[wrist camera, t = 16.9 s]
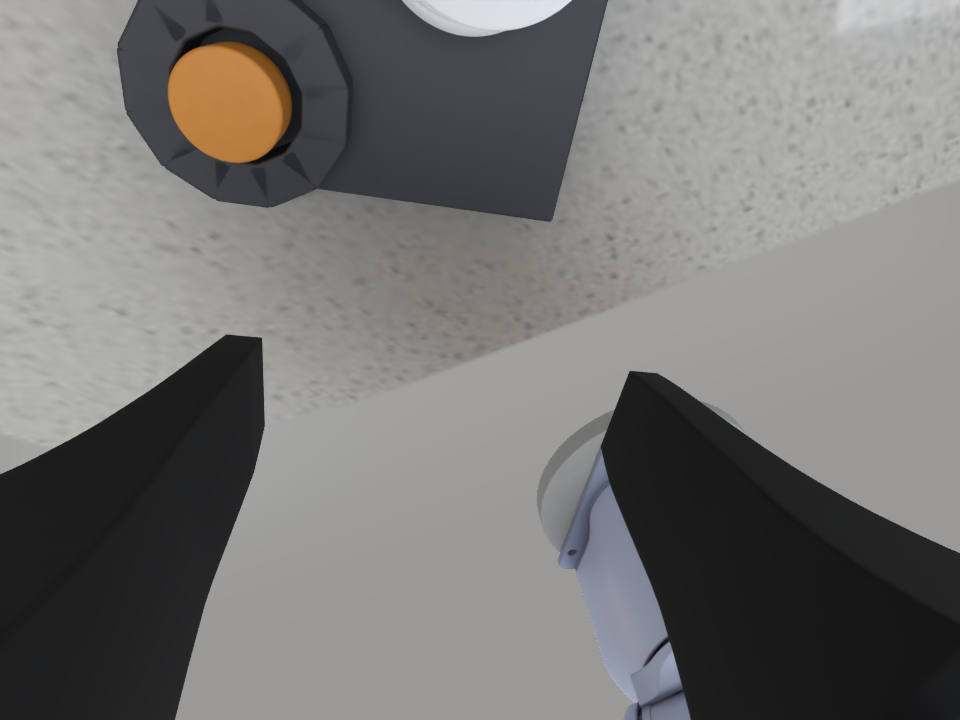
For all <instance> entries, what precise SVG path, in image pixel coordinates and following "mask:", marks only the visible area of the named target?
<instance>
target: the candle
mask: <svg viewBox="0 0 960 720" xmlns="http://www.w3.org/2000/svg"><path fill="white" fill-rule="evenodd" d="M402 1H403V2H404V3H405V5H406V6H407V7H408V8H409V9H410V10H411V11H413V12H414V13H415V14H416V15H417V16H419V17H420V18H421V19H423V20H424V21H426V22H427V23H429V24H430V25H432V26H434V27H436V28H438V29H440V30H443V31H445V32H448V33H452V34H456V35H461V36H469V37H480V36H488V35H493V34H497V33H501V32H504V31H507V30H515V29H520V28H524V27H527V26H530V25H533V24H536V23H538V22H540V21H543V20H545V19H546V18H548V17H550V16H552V15H553V14H555V13H556V12H558V11H559V10H561V9H562V8H563V7H565V6H566V5H567V4H568V3H569V2H571V1H572V0H402Z"/></svg>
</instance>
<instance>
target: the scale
mask: <svg viewBox="0 0 960 720" xmlns="http://www.w3.org/2000/svg"><path fill="white" fill-rule="evenodd" d="M607 2H608V0H572V1H571V2H569V3H568V4H567V5H566V6H565V7H563V8H562V9H561V10H559V11H558V12H556V13H555V14H553V15H552V16H550V17H548V18H546V19H545V20H543V21H540V22H538V23H536V24H533V25H530V26H527V27H524V28H520V29H515V30H507V31H504V32H501V33H497V34H493V35H488V36H480V37H469V36H461V35H456V34H452V33H448V32H445V31H443V30H440V29H438V28H436V27H434V26H432V25H430V24H429V23H427V22H426V21H424V20H423V19H421V18H420V17H419V16H417V15H416V14H415V13H414V12H413V11H411V10H410V9H409V8H408V7H407V6H406V5H405V3H404V2H403V1H402V0H138V2H137V4H136V6H135V8H134V10H133V12H132V14H131V17H130V19H129V21H128V23H127V25H126V27H125V29H124V31H123V34H122V36H121V38H120V40H119V42H118V47H119V48H117V54H118V61H119V68H120V75H121V82H122V89H123V96H124V103H125V109H126V111H127V115H128V116H129V118H130V119H131V121H132V122H133V124H134V125H135V127H136V128H137V130H138V131H139V133H140V134H141V136H142V137H143V139H144V140H145V142H146V143H147V145H148V146H149V148H150V149H151V151H152V152H153V153H154V155H155V156H156V158H157V159H158V161H159V162H160V164H161V165H162V166H165V168H166V169H167V170H169V171H170V172H172V173H174V174H175V175H177V176H178V177H180V178H181V179H183V180H184V181H186V182H188V183H189V184H191V185H192V186H194V187H195V188H197V189H199V190H200V191H202V192H203V193H205V194H206V195H208V196H209V197H211V198H213V199H216V200H217V201H222V202H230V203H237V204H245V205H252V206H260V207H267V208H268V207H274V206H277V205H279V204H282V203H284V202H287V201H289V200H292V199H294V198H296V197H299V196H301V195H304V194H306V193H309V192H311V191H314V190H315V189H323V190H330V191H337V192H344V193H351V194H358V195H365V196H372V197H379V198H386V199H393V200H400V201H407V202H415V203H422V204H429V205H436V206H443V207H450V208H457V209H464V210H471V211H478V212H485V213H492V214H499V215H506V216H513V217H520V218H527V219H534V220H541V221H548V222H549V221H552V219H553V215H554V211H555V207H556V203H557V199H558V195H559V191H560V187H561V183H562V179H563V175H564V171H565V167H566V163H567V159H568V155H569V151H570V148H571V144H572V140H573V136H574V132H575V128H576V124H577V120H578V116H579V112H580V108H581V104H582V100H583V96H584V92H585V88H586V84H587V80H588V77H589V73H590V69H591V65H592V61H593V57H594V53H595V49H596V45H597V41H598V37H599V33H600V29H601V25H602V21H603V17H604V13H605V9H606V5H607ZM224 41H233V42H240V43H243V44H247V45H249V46H252V47H254V48H256V49H257V50H259V51H261V52H262V53H264V54H265V55H266V56H267V57H269V58H270V59H271V60H272V61H273V62H274V63H275V65H276V66H277V67H278V68H279V70H280V71H281V72H282V74H283V76H284V78H285V79H286V82H287V84H288V86H289V89H290V93H291V98H292V116H291V121H290V124H289V127H288V128H287V130H286V132H285V133H284V135H283V136H282V137H281V139H280V140H279V141H278V142H277V143H276V144H275V146H274V147H273V148H272V149H271V150H270V151H269V152H268V153H267V154H265V155H264V156H262V157H260V158H258V159H256V160H253V161H250V162H245V163H231V162H226V161H221V160H218V159H215V158H213V157H211V156H209V155H207V154H205V153H204V152H202V151H201V150H199V149H198V148H197V147H195V146H194V145H193V144H192V143H191V142H190V141H189V140H188V139H187V138H186V137H185V136H184V134H183V133H182V132H181V130H180V129H179V127H178V125H177V124H176V122H175V120H174V118H173V115H172V113H171V109H170V106H169V101H168V82H169V78H170V74H171V72H172V70H173V68H174V66H175V64H176V63H177V62H178V60H179V59H180V58H181V57H182V56H184V55H185V54H186V53H187V52H189V51H191V50H193V49H195V48H198V47H201V46H206V45H210V44H214V43H218V42H224Z"/></svg>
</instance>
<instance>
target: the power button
mask: <svg viewBox="0 0 960 720" xmlns="http://www.w3.org/2000/svg"><path fill="white" fill-rule="evenodd" d="M168 101H169V106H170V109H171V113H172V115H173V118H174V120H175V122H176V124H177V125H178V127H179V129H180V130H181V132H182V133H183V134H184V136H185V137H186V138H187V139H188V140H189V141H190V142H191V143H192V144H193V145H194V146H195V147H197V148H198V149H199V150H201V151H202V152H204V153H205V154H207V155H209V156H211V157H213V158H215V159H218V160H221V161H226V162H231V163H245V162H250V161H253V160H256V159H258V158H260V157H262V156H264V155H265V154H267V153H268V152H269V151H270V150H271V149H272V148H273V147H274V146H275V144H276V143H277V142H278V141H279V140H280V139H281V137H282V136H283V135H284V133H285V132H286V130H287V128H288V127H289V124H290V121H291V116H292V98H291V93H290V89H289V86H288V84H287V82H286V79H285V78H284V76H283V74H282V72H281V71H280V70H279V68H278V67H277V66H276V65H275V63H274V62H273V61H272V60H271V59H270V58H269V57H267V56H266V55H265V54H264V53H262V52H261V51H259V50H257V49H256V48H254V47H252V46H249V45H247V44H243V43H240V42H233V41H224V42H218V43H214V44H210V45H206V46H201V47H198V48H195V49H193V50H191V51H189V52H187V53H186V54H185V55H184V56H182V57H181V58H180V59H179V60H178V62H177V63H176V64H175V66H174V68H173V70H172V72H171V74H170V78H169V82H168Z"/></svg>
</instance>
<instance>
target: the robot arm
mask: <svg viewBox="0 0 960 720" xmlns="http://www.w3.org/2000/svg"><path fill="white" fill-rule="evenodd" d="M264 427H265V420H264V387H263V353H262V338H258V337H247V336H236V335H225V336H224V337H222V338H221V339H219V340H218V341H217V342H215V343H214V344H213V345H211V346H210V347H209V348H207V349H206V350H205V351H203V352H202V353H201V354H199V355H198V356H197V357H195V358H194V359H193V360H191V361H190V362H189V363H187V364H186V365H185V366H183V367H182V368H181V369H179V370H178V371H177V372H175V373H174V374H172V375H171V376H170V377H168V378H167V379H165V380H164V381H163V382H161V383H160V384H158V385H157V386H156V387H154V388H153V389H151V390H150V391H148V392H147V393H145V394H144V395H142V396H141V397H139V398H138V399H136V400H134V401H133V402H131V403H130V404H128V405H127V406H125V407H124V408H122V409H120V410H119V411H117V412H116V413H114V414H113V415H111V416H109V417H108V418H106V419H105V420H103V421H102V422H100V423H98V424H97V425H95V426H93V427H92V428H90V429H88V430H86V431H85V432H83V433H81V434H79V435H78V436H76V437H74V438H72V439H70V440H69V441H67V442H65V443H63V444H61V445H59V446H57V447H55V448H53V449H51V450H50V451H48V452H46V453H44V454H42V455H40V456H38V457H36V458H34V459H32V460H30V461H28V462H26V463H24V464H22V465H20V466H18V467H16V468H13V469H12V470H9V471H7V472H5V473H2V474H0V720H175V717H176V713H177V709H178V705H179V701H180V697H181V693H182V689H183V685H184V681H185V677H186V674H187V669H188V665H189V662H190V658H191V654H192V650H193V647H194V643H195V639H196V635H197V632H198V628H199V624H200V620H201V617H202V613H203V609H204V605H205V602H206V599H207V596H208V593H209V591H210V587H211V584H212V582H213V579H214V576H215V574H216V571H217V568H218V566H219V563H220V561H221V558H222V555H223V553H224V550H225V547H226V545H227V542H228V540H229V537H230V534H231V532H232V529H233V526H234V524H235V521H236V519H237V516H238V513H239V511H240V508H241V506H242V503H243V500H244V497H245V495H246V492H247V490H248V487H249V484H250V481H251V479H252V476H253V473H254V469H255V465H256V461H257V457H258V453H259V449H260V444H261V440H262V435H263V431H264ZM558 564H559V566H560V567H561V568H563V569H575V570H576V573H577V577H578V580H579V583H580V587H581V590H582V593H583V597H584V599H585V603H586V606H587V610H588V613H589V616H590V620H591V623H592V626H593V630H594V633H595V636H596V639H597V642H598V646H599V649H600V653H601V656H602V659H603V662H604V664H605V667H606V669H607V671H608V673H609V674H610V676H611V678H612V679H613V681H614V682H615V683H616V685H617V686H618V687H619V688H620V690H622V692H623V693H624V694H625V695H626V696H627V697H628V698H629V699H630V700H631V701H633V702H634V704H632V705H630V706H629V707H628V708H627V709H626V711H625V716H624V720H960V553H958V552H956V551H953V550H951V549H949V548H946V547H944V546H942V545H940V544H938V543H936V542H933V541H931V540H929V539H927V538H924V537H922V536H920V535H918V534H916V533H914V532H912V531H910V530H908V529H906V528H904V527H901V526H900V525H898V524H896V523H893V522H891V521H889V520H887V519H885V518H883V517H881V516H879V515H877V514H875V513H873V512H871V511H869V510H867V509H866V508H864V507H862V506H860V505H858V504H856V503H854V502H852V501H850V500H849V499H847V498H845V497H844V496H842V495H840V494H838V493H837V492H835V491H833V490H831V489H830V488H828V487H826V486H824V485H822V484H821V483H819V482H817V481H816V480H814V479H812V478H811V477H809V476H807V475H806V474H804V473H802V472H801V471H799V470H798V469H796V468H794V467H793V466H791V465H790V464H788V463H787V462H785V461H784V460H782V459H781V458H779V457H778V456H776V455H774V454H773V453H772V452H770V451H768V450H767V449H765V448H764V447H762V446H761V445H760V444H758V443H757V442H755V441H754V440H752V439H751V438H749V437H748V436H747V435H745V434H744V433H742V432H741V431H740V430H738V429H737V428H735V427H734V426H733V425H731V424H730V423H728V422H727V421H726V420H724V419H723V418H722V417H720V416H719V415H717V414H716V413H715V412H713V411H712V410H711V409H709V408H708V407H706V406H705V405H704V404H702V403H701V402H699V401H698V400H697V399H695V398H694V397H692V396H691V395H690V394H688V393H687V392H686V391H684V390H683V389H681V388H680V387H678V386H677V385H675V384H674V383H672V382H671V381H669V380H667V379H666V378H664V377H663V376H661V375H659V374H657V373H647V372H636V371H630V372H629V374H628V377H627V380H626V382H625V385H624V388H623V390H622V392H621V395H620V398H619V400H618V403H617V406H616V408H615V411H614V413H613V416H612V418H611V421H610V424H609V426H608V429H607V431H606V434H605V437H604V439H603V442H602V444H601V448H600V451H599V453H598V456H597V459H596V461H595V464H594V466H593V469H592V471H591V474H590V477H589V479H588V482H587V484H586V487H585V490H584V492H583V495H582V497H581V500H580V503H579V505H578V508H577V510H576V513H575V516H574V518H573V521H572V523H571V526H570V529H569V531H568V534H567V536H566V539H565V542H564V544H563V547H562V549H561V552H560V555H559V557H558Z"/></svg>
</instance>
